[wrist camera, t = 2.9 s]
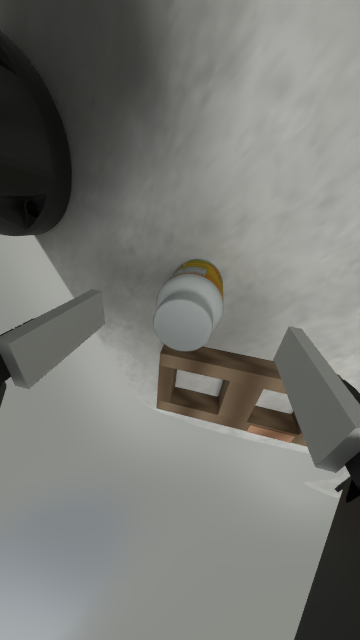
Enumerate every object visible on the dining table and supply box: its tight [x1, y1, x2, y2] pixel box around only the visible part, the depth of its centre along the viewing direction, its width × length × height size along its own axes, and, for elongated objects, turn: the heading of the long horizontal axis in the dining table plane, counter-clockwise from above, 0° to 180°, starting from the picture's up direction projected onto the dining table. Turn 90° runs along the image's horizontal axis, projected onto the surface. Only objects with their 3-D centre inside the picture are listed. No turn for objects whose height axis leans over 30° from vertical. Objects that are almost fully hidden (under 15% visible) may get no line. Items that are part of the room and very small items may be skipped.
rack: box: [157, 344, 343, 446], centre depth 25 cm, size 22×11×3 cm, turn 84°
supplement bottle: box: [153, 259, 223, 351], centre depth 16 cm, size 5×5×10 cm
